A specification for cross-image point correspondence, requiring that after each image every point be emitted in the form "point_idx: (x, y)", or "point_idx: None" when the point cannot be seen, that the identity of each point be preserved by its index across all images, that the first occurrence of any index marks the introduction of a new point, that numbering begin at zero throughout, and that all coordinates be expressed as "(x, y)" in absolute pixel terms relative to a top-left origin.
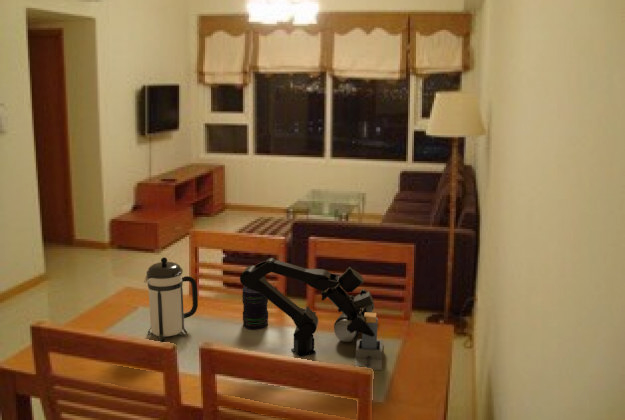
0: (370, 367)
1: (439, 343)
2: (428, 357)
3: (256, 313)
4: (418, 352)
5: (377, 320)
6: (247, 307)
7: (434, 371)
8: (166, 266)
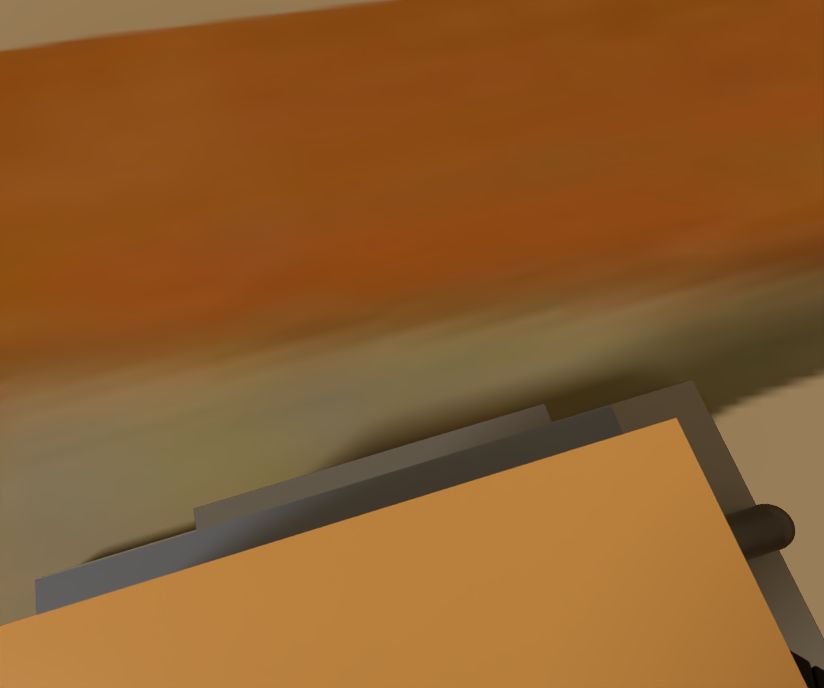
0: (749, 500)
1: None
2: (246, 116)
3: None
4: (172, 200)
5: (183, 545)
6: None
7: (468, 37)
8: None
